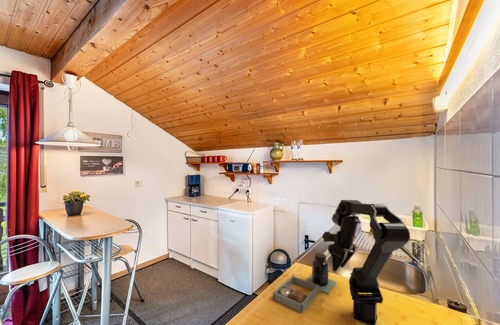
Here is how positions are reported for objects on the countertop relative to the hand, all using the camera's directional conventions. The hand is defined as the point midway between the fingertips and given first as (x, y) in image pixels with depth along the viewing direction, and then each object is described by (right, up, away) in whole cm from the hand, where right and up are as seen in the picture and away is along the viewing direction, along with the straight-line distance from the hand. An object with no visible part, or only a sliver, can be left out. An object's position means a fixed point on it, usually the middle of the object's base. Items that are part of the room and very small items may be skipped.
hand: (338, 269), depth 89 cm
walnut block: (-17, -10, -6) cm, 21 cm away
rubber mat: (-5, -10, +8) cm, 14 cm away
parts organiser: (-16, -10, 0) cm, 19 cm away
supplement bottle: (-5, -10, +8) cm, 14 cm away
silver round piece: (-21, -10, -3) cm, 24 cm away
